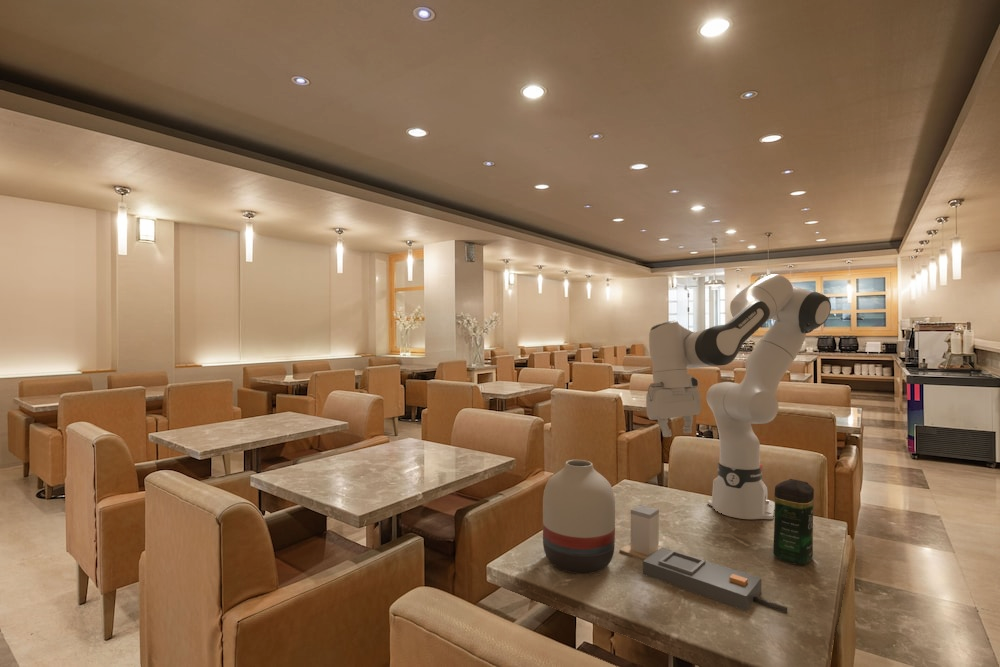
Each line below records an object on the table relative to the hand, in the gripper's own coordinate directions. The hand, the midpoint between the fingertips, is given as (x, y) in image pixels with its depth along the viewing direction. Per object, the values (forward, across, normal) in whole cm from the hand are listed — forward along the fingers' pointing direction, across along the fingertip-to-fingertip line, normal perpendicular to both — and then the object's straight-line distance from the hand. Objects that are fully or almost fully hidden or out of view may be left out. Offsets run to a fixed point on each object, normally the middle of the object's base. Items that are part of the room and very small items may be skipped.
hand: (677, 435), depth 132 cm
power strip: (+31, -14, -13) cm, 37 cm away
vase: (+27, -28, +13) cm, 41 cm away
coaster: (+28, -11, +6) cm, 30 cm away
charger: (+27, -11, +6) cm, 30 cm away
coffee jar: (+31, +15, -18) cm, 39 cm away
